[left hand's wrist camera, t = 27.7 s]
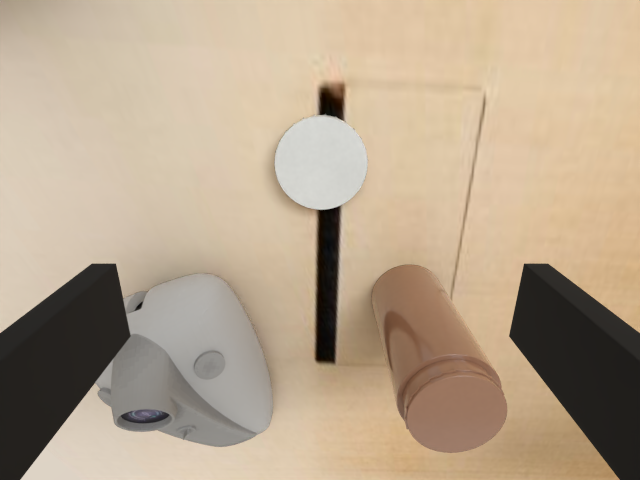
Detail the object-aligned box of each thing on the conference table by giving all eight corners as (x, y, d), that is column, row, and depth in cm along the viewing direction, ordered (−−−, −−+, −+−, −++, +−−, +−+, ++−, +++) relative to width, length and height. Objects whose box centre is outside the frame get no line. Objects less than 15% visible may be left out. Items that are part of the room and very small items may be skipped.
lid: (257, 165, 39) (254, 169, 37) (316, 93, 37) (316, 93, 35) (324, 221, 41) (324, 228, 40) (384, 157, 39) (387, 160, 37)
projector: (94, 390, 49) (7, 505, 36) (125, 230, 42) (31, 299, 28) (260, 435, 52) (239, 558, 38) (319, 293, 44) (319, 384, 31)
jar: (436, 257, 43) (508, 360, 26) (446, 318, 46) (516, 445, 29) (364, 273, 44) (392, 384, 27) (378, 332, 46) (411, 465, 30)
